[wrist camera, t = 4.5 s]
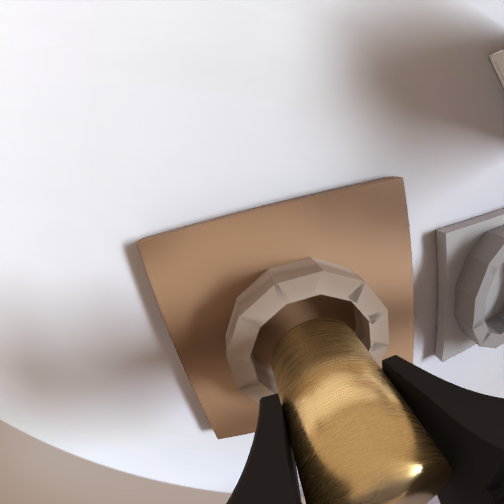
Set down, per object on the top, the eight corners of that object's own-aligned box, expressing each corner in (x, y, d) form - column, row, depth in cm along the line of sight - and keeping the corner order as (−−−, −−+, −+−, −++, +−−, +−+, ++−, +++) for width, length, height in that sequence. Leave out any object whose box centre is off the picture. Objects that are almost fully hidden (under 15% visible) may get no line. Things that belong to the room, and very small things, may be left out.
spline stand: (513, 311, 19) (537, 326, 16) (434, 354, 18) (457, 377, 16) (520, 202, 16) (549, 209, 13) (435, 229, 16) (468, 241, 13)
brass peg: (361, 374, 14) (439, 502, 6) (282, 401, 14) (321, 549, 6) (352, 305, 13) (463, 438, 5) (260, 334, 13) (301, 507, 5)
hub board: (404, 373, 19) (425, 399, 16) (218, 428, 18) (218, 462, 15) (393, 176, 15) (425, 180, 12) (142, 238, 15) (124, 255, 12)
